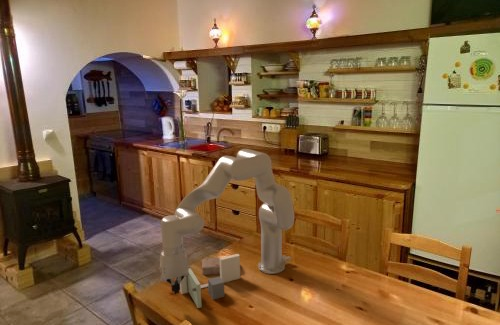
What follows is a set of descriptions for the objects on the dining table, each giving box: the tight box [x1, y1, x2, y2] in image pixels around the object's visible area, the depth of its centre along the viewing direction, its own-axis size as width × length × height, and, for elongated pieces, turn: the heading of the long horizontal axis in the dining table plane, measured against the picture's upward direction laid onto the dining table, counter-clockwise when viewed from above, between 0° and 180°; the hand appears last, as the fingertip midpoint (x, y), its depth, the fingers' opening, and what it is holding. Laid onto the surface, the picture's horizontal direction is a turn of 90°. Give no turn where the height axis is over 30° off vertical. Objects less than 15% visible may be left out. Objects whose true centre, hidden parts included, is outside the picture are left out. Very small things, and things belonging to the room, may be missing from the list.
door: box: [186, 266, 203, 309], centre depth 144 cm, size 15×3×10 cm, turn 26°
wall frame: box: [179, 253, 241, 295], centre depth 154 cm, size 27×2×12 cm, turn 116°
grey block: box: [207, 275, 225, 301], centre depth 148 cm, size 5×5×6 cm
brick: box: [201, 256, 223, 276], centre depth 168 cm, size 17×8×5 cm, turn 99°
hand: (176, 292), depth 139 cm, fingers closed
